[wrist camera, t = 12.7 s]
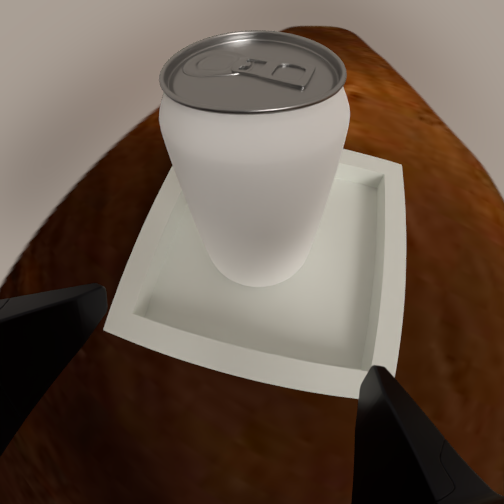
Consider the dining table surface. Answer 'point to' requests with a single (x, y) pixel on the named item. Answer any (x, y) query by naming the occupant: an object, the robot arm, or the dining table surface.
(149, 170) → the dining table surface
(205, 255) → the tray
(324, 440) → the dining table surface
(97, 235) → the dining table surface
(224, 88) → the can
